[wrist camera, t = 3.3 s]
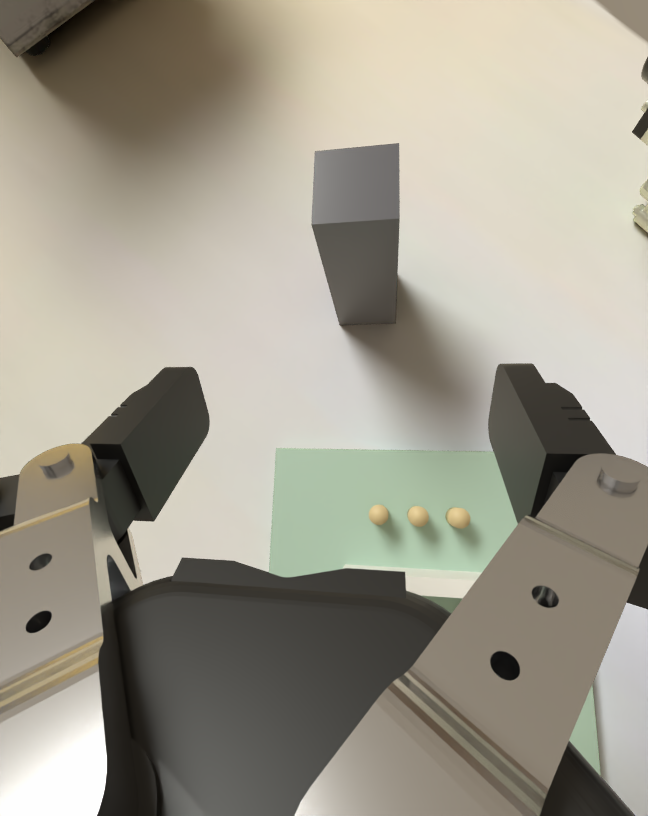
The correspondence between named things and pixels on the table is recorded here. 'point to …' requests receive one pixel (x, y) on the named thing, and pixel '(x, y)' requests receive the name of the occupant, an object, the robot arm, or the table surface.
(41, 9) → the vintage electronic device
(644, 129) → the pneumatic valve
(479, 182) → the table surface
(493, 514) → the board
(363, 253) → the grey rectangular block
